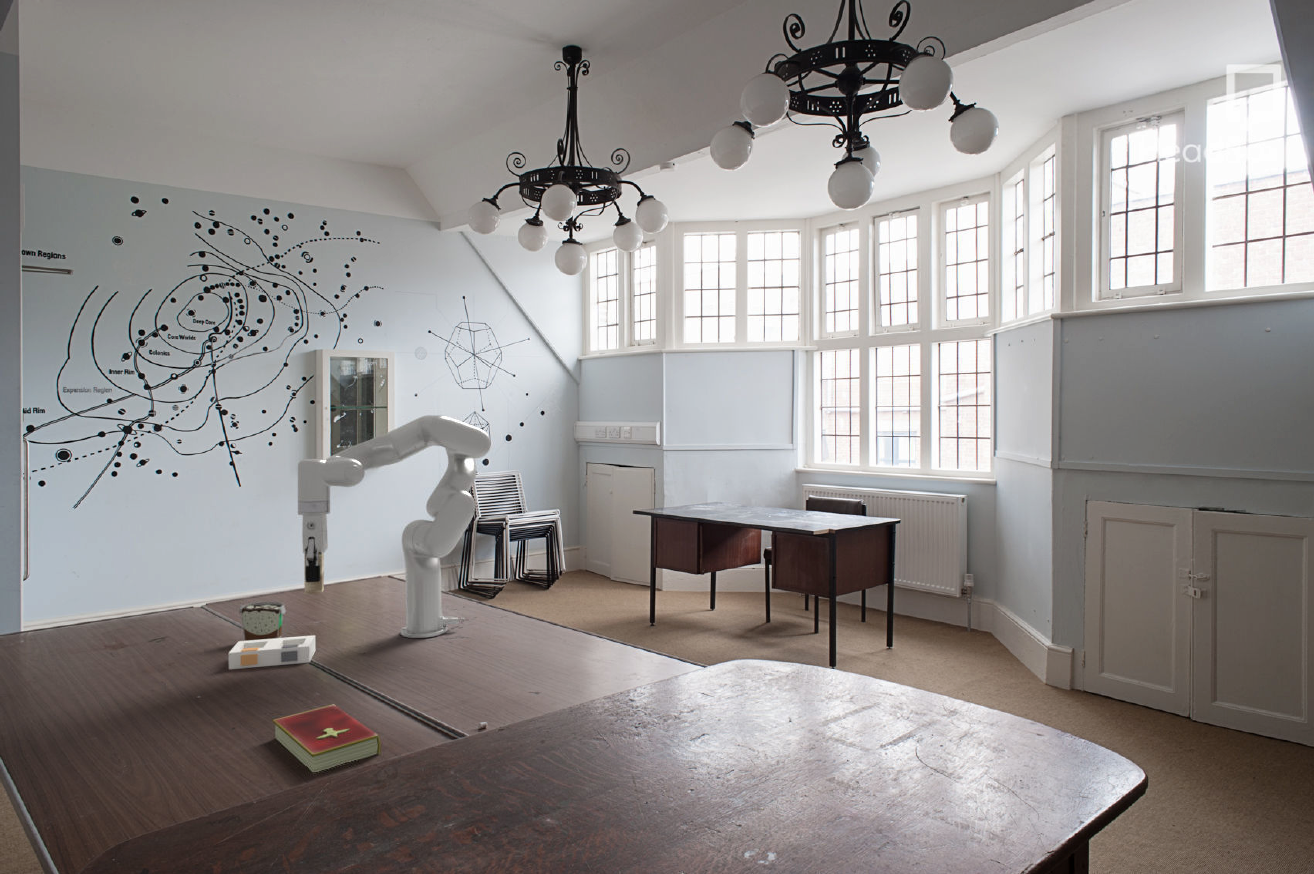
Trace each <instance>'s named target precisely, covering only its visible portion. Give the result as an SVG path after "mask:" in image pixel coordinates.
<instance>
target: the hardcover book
mask: <svg viewBox="0 0 1314 874" xmlns="http://www.w3.org/2000/svg"><path fill="white" fill-rule="evenodd" d="M272 723H273V724H274V725H275V726H274V727H275V734H274V735H275V739H276V740H277V741H278V742H279V743H281V745H282V746H283V747H284V748H286V749H287V750H288V751H289V752H290V753H291V754H292V755H293V756H294V757H296V759H297V760H298V761H300V762H301V764H303V765H304V766H305V767H306V766H307V767H308V768H309V769H308V768H307V767H306V768H307V769H308V770H310V771H311V773H313V772H318V773H320V772H319V771H321V770H324V769H328V770H330V769H329V768H331V767H334V766H336V765H340V764H343V763H345V762H350V763H352V762H351V761H353V762H355V761H354V760H356V761H359V760H362V759H365V758H368V757H372V756H375V755H380V754H381V749H382V748H381V747H382V745H381V738H380V736H379V735H378V734H377V733H376V732H374V731H373V730H371V729H370V728H369V727H367V726H366V725H364V724H363V723H362V722H360V721H358V720H357V719H356V718H355V717H353V716H351V715H350V714H348V713H347V712H346V711H344V710H343V709H341V708H340V707H338V706H337V705H336V704H329V705H325V706H320V707H318V708H313V709H310V710H306V711H302V712H298V713H295V714H291V715H288V716H287V715H286V716H282V717H279V718H275V719H272ZM358 759H359V760H358ZM343 765H344V764H343ZM340 766H341V765H340ZM334 768H335V767H334ZM331 769H332V768H331ZM324 771H325V770H324ZM321 772H322V771H321Z"/></svg>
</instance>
